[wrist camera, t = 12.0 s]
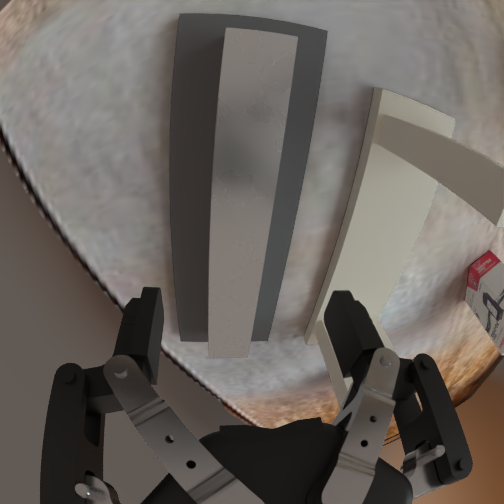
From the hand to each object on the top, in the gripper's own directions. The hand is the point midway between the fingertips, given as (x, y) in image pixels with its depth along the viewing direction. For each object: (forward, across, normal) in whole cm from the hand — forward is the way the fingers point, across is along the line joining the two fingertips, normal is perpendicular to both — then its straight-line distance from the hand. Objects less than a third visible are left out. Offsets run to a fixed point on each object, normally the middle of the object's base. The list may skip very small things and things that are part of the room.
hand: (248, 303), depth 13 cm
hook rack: (+10, -13, +2) cm, 16 cm away
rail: (+9, 0, 0) cm, 9 cm away
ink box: (+10, -35, +7) cm, 37 cm away
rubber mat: (+10, 0, 0) cm, 10 cm away
